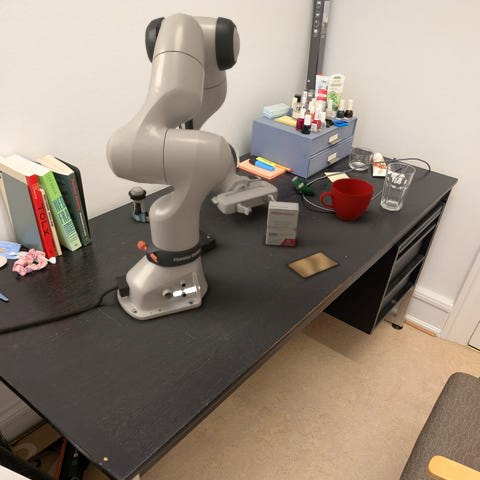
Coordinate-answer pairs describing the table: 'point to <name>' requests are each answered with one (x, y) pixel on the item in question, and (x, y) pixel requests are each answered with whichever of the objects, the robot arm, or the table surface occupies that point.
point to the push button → (139, 204)
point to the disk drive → (206, 241)
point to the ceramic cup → (349, 197)
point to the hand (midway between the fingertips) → (262, 208)
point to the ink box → (282, 223)
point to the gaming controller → (302, 186)
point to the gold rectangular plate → (312, 265)
